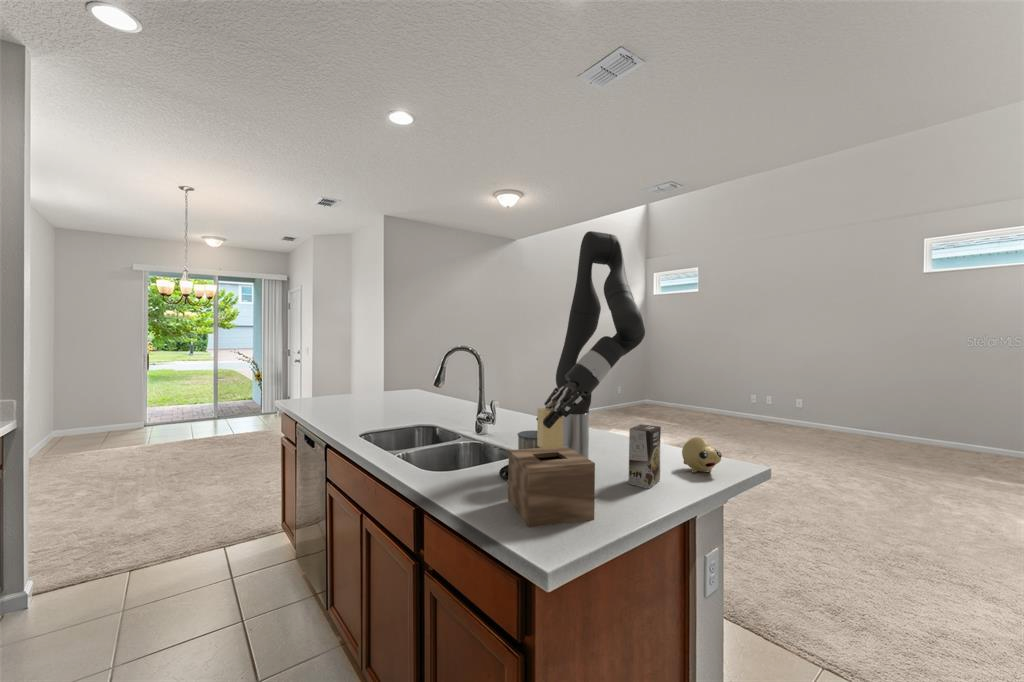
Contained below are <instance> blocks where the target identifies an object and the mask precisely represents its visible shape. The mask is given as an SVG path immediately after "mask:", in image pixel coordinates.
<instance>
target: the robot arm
mask: <svg viewBox="0 0 1024 682" xmlns="http://www.w3.org/2000/svg"><path fill="white" fill-rule="evenodd" d="M580 244H581V245H580V250H579V256H578V266H577V275H576V281H575V288H574V293H573V298H572V301H571V306H570V310H569V311H570V312H569V316H568V322H567V329H566V333H565V338H564V342H563V347H562V350H561V354H560V358H559V361H558V365H557V369H556V372H555V385H556V387H555V388H554V389H552V392H551V394H550V395H549V396H548V397H547V399H546V400H545V402H544V406H545V407H544V408H555V409H554V412H553V411H552V412H551V413H550V414H549V416H548V417H547V418H546V419H545V420H544V421H543V424H544V425H545V426H546V427H547V428H551V427H552V426H553V425H554V423H555V422H556V421H557V420H558V419H559V417H560V418H562V417H563V446H567V447H569V448H570V449H572V450H574V451H576V452H577V453H579V454H581V455H582V456H584V457H586V458H587V459H589V454H590V453H589V452H590V451H589V448H590V446H589V444H590V442H589V441H590V435H589V434H590V432H589V431H590V427H589V426H590V422H589V421H590V408H591V404H592V395H593V394H592V393H593V392H594V391H595V389H596V388H597V387H598V386H599V385H600V383H601V382H602V381H603V380H604V379H605V378H606V376H607V375H608V373H610V371H611V369H612V368H613V367H614V366H615V365H616V364H617V363H618V362H619V361H620V359H621V358H623V356H625V355H627V354H628V353H630V352H631V351H632V350H635V348H637V347H638V346H639V345H640V344H641V342H642V341H643V340H644V338H645V335H646V328H645V324H644V321H643V315H642V314H641V311H640V308H639V307H638V305H637V303H636V301H635V298H634V295H633V292H632V290H631V288H630V284H629V281H628V278H627V274H626V268H625V262H624V261H625V260H624V255H623V250H622V249H623V248H622V243H621V241H620V239H619V238H618V236H616V235H615V234H611V233H606V232H600V231H587V232H586V233H585V234H584V235H583V237H582V240H581V243H580ZM593 264H597V265H602V266H603V265H604V266H605V265H606V266H607V267H609V270H610V271H609V273H608V275H607V277H606V279H605V281H604V284H603V294H604V295H603V296H604V298H605V300H606V301H605V302H606V304H607V307H608V310H609V311H610V315H611V318H612V321H613V325H614V328H615V331H616V333H615V334H614V336H612V337H611V336H608V335H607V336H602V337H601V338H600V339H598V340H597V341H596V342H595V344H594V345H593V346H592V347H591V348H590V349H589V350H588V351H587V352H585V354H583V355H582V356H581V357H580V359H579V360H578V358H579V355H580V353H581V351H582V349H584V348H585V346H586V345H587V343H588V342H589V340H590V339H591V338H592V337H593V336H594V334H595V332H596V330H597V328H598V325H599V319H600V315H601V309H602V308H601V302H600V298H599V297H598V294H597V291H596V288H595V286H594V282H593V278H592V277H593V276H592V273H593V272H592V271H593ZM535 420H536V421H538V418H537V417H536V419H535Z"/></svg>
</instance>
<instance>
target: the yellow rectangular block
mask: <svg viewBox="0 0 1024 682" xmlns="http://www.w3.org/2000/svg"><path fill="white" fill-rule="evenodd" d="M554 409H555V408H545V407H541V408H539V407H538V408H537V412H536V413H537V417H536V418H538V421H537V420H536V421H537V424H536V426H537V429H536V431H537V445H538V446H539V447H541V448H542V449H553V448H563V417H562V418H560V417H559V419H558V420H557V421H556V422H555V423H554V425H553V426H552V427H551V428H547V427H546V426H545V425H544V424H543V421H544V420H545V419H546V418H547V417H548V416H549V414H550V413H551V412H552V411H553V412H554Z"/></svg>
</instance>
